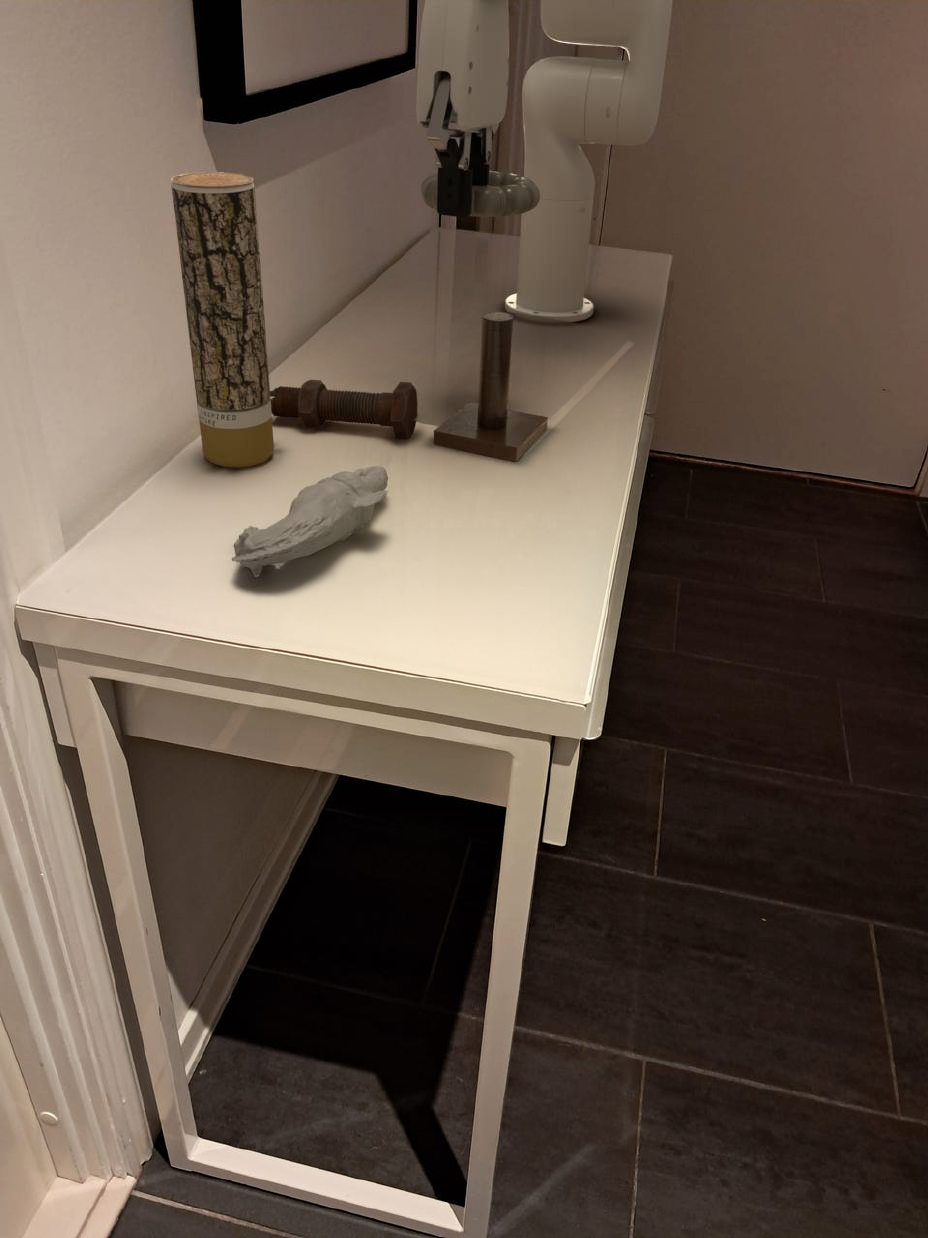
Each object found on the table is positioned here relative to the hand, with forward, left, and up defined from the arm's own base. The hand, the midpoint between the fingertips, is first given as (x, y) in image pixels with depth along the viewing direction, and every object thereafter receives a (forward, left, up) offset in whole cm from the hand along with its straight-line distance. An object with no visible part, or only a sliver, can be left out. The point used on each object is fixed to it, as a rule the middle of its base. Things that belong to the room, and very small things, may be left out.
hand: (462, 210), depth 92 cm
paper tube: (+16, -16, -22) cm, 32 cm away
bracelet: (-4, 0, +1) cm, 4 cm away
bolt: (+5, -11, -22) cm, 25 cm away
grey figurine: (+26, -1, -22) cm, 34 cm away
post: (0, +4, -22) cm, 22 cm away
